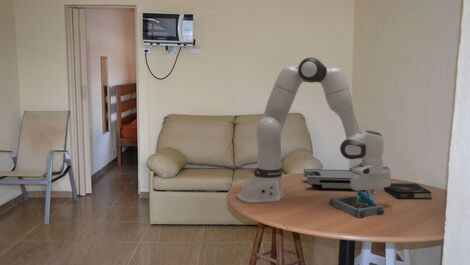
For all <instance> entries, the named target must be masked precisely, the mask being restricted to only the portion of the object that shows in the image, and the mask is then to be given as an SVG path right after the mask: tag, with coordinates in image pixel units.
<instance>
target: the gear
mask: <svg viewBox="0 0 470 265" xmlns="http://www.w3.org/2000/svg"><path fill="white" fill-rule="evenodd" d="M359 204H360V206H359V208H358V209H360V208H364V206H365V205H368V206H369V207H374V206H377V203H375V201H374V200H373V199H370V197H368V196H367V194H366V193H364V192H362V191H357V203H355V206H358V205H359Z"/></svg>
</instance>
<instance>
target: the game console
mask: <svg viewBox="0 0 470 265" xmlns="http://www.w3.org/2000/svg"><path fill="white" fill-rule="evenodd" d="M352 173H354V172H352V167H349V169H320V168H319V169H317V168H315V169H313V168H312V169H311V168H307V169H305V168H303V177H304V178H306V182H307V185H311V187H312V188H316V190H317V191H324V192H325V191H332V192H333V191H334V192H356V191H355V190H353V189H351V187H350V183H351V175H352ZM358 192H365V190H359V191H358Z"/></svg>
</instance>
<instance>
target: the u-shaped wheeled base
mask: <svg viewBox="0 0 470 265" xmlns="http://www.w3.org/2000/svg"><path fill="white" fill-rule="evenodd" d="M357 203H358V195H357V196H356V195H351V196H343V197H342V196H341V197H335V198H334V197H332V198H331V197H330V198H329V205H330V206H331V207H333V208H336V209H338V210H340V211H342V212H345V213H347V214H349V215H351V216H354V217H355V218H358V219H359V218H362V219H363V218H365V217H367V216H373V215H375V216H376V215H380V216H381V215H384V213H385V209H384V206H383V205H376V206H374V207H372V206H369V207H362V208H357V207H355V206H352V205H351V204H357Z"/></svg>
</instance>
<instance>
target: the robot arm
mask: <svg viewBox="0 0 470 265" xmlns="http://www.w3.org/2000/svg"><path fill="white" fill-rule="evenodd" d="M302 83H309V84H313V83H315V84H316V83H319V84H320V85H321V87H322V89H323V93H324V96H325V100H326V103H327V104H328V107H329V109H330V111H332V112H333V113H335V115H337V116H338V117H339V118H340V120H341V123H342V126H343V130H344V133H345V136H346V137H345V140H343V141H342V142H341V144H340V147H339V149H340V150H339V151H340V153H341V155H342V156H343V157H344V158H345V159H349V160H357V159H358V160H359V159H361V162H360V163H358V164H357V165H354V166H353V167H351V168H352V172H354V173H352V175H351V183H350V187H351V189H353V190H355V191H354V192H360V191H359V190H365V191H364V192H365V195H366V196H368V197H370V200H372V199H374V198H375V194H376V192H377V189H380V188H381V189H384V187H389V186H390V185H391V183H392V179H391V178H392V177H391V168H390V167H388V166H384V164H383V163H384V162H383V161H384V160H383V154H384V136H383V135H382V134H381V133H380V132H378V131H374V130H365V131H364V132H362V133H361V131H360V129H359V126H358V122H357V119H356V115H355V113H354V112H355V111H354V107H353V100H352V94H351V90H350V85H349V82H348V80H347V77H346V75H345V73H344V72H343V69H341V68H339V67H329V68H327V67H326V66H325V64H324V63H323V62H322V61H321V60H320V59H318V58H315V57H306V58H304V59H303V60H302V61H300V63H299V65H298V66H294V65H286V66H284V67H283V68H282V69H281V71H280V72H279V74H278V76H277V78H276V80H275V83H274V85H273V87H272V90H271V92H270V95H269V98H268V99H267V103H266V106H265V109H264V112H263V115H262V118H261V119H260V120H259V121H258V122H257V124H256V145H257V146H256V147H257V167H256V168H253V167H251V168H250V169H249V171H250V172H251V173H253V176H251V177H250V178H249V179H248V180H247V181H245V182H244V183H243V184H242V187H241V192H239V193H237V194H236V198H237V199H238V200H239V201H241V202H242V203H243V202H245V203H248V204H254V203H255V204H256V203H257V204H258V203H271V202H272V203H275V202H280V201H281V199H284V193H283V190H282V170H283V169H282V166H281V163H282V147H281V144H282V142H281V140H282V138H281V134H282V133H281V132H282V131H283V128H284V127H285V124H286V121H287V118H288V116H289V113H290V111H291V108H292V105H293V103H294V100H295V99H296V95H297V93H298V91H299V88H300V86H301V85H302Z"/></svg>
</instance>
